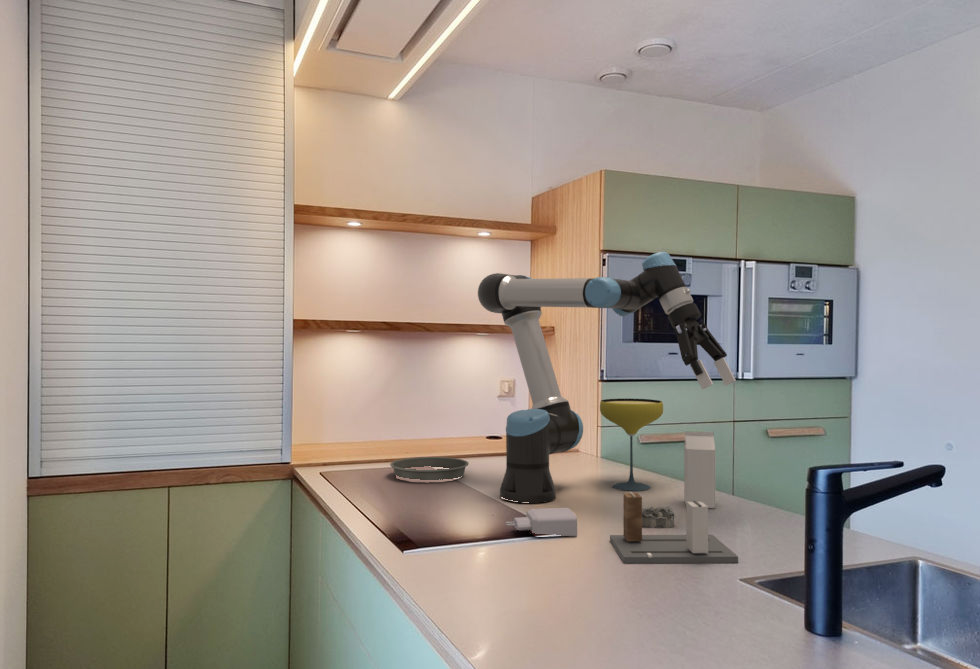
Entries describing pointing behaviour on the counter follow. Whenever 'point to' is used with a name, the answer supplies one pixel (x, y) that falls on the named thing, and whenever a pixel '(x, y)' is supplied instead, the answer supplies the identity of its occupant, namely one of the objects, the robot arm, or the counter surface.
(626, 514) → the block
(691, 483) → the milk carton
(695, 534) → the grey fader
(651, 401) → the cocktail glass
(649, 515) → the egg carton
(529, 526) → the grey bottle
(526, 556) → the counter surface
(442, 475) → the cake pan
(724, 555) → the console
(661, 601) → the counter surface
